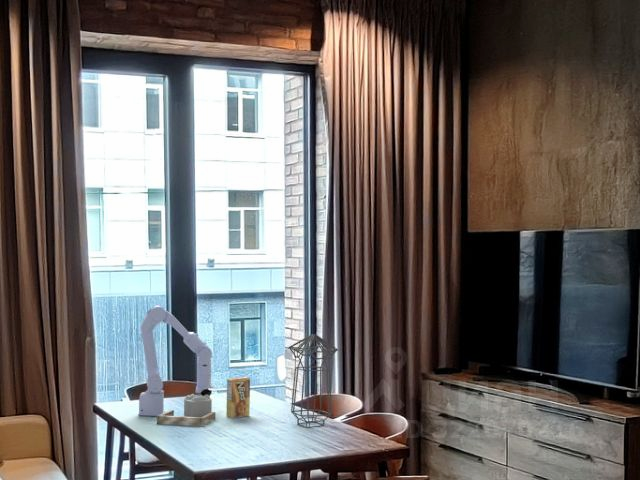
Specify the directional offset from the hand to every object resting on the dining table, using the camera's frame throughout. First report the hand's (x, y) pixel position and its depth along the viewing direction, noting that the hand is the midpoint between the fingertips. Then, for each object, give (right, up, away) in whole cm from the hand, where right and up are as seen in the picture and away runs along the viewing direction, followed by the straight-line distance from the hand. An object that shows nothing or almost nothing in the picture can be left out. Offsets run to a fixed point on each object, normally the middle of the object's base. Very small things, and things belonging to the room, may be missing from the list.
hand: (203, 408), depth 360 cm
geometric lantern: (+45, -2, -23) cm, 51 cm away
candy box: (+15, -2, -7) cm, 17 cm away
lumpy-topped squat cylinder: (-2, -2, -8) cm, 8 cm away
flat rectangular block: (-4, -2, -18) cm, 19 cm away
